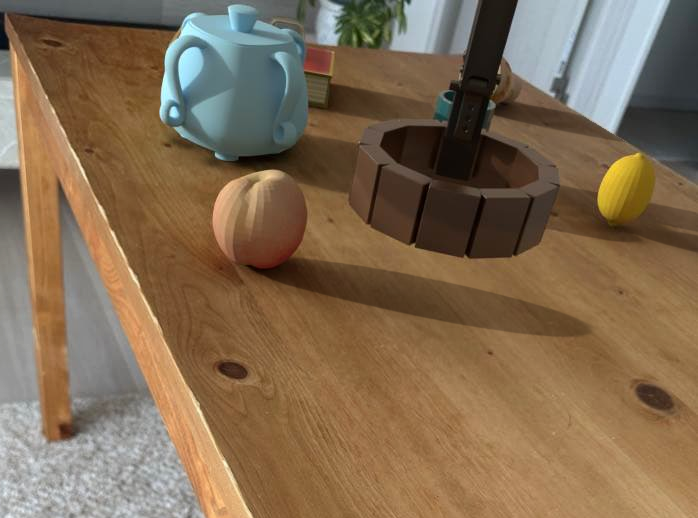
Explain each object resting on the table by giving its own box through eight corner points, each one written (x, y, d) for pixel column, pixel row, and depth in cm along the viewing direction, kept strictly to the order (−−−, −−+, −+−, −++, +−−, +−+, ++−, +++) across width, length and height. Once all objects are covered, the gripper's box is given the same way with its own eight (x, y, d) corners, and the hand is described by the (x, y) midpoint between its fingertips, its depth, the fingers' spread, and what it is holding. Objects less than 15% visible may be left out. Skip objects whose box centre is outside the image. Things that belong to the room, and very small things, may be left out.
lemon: (577, 219, 98) (605, 146, 92) (605, 212, 101) (633, 140, 95) (618, 240, 95) (649, 166, 90) (645, 232, 98) (677, 159, 93)
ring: (538, 198, 74) (556, 143, 71) (542, 275, 63) (563, 214, 60) (363, 161, 75) (373, 105, 72) (336, 231, 64) (347, 169, 61)
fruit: (232, 234, 82) (241, 147, 77) (311, 259, 81) (325, 172, 75) (195, 266, 76) (201, 174, 71) (279, 293, 75) (292, 201, 70)
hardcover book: (181, 55, 121) (183, 20, 118) (330, 82, 122) (335, 48, 119) (166, 79, 112) (167, 43, 110) (326, 108, 113) (332, 73, 111)
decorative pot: (139, 150, 94) (143, 7, 85) (180, 106, 106) (187, -24, 96) (287, 183, 93) (306, 42, 84) (311, 135, 105) (331, 7, 96)
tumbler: (475, 168, 105) (495, 97, 100) (474, 187, 101) (495, 113, 95) (423, 156, 106) (441, 85, 100) (419, 175, 101) (437, 101, 95)
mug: (530, 110, 127) (542, 50, 118) (476, 143, 126) (483, 86, 117) (498, 79, 130) (507, 19, 120) (445, 112, 129) (449, 53, 119)
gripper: (491, -205, 63) (415, 134, 79) (487, -198, 52) (400, 194, 68) (594, -186, 62) (497, 151, 78) (611, -174, 52) (495, 214, 68)
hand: (452, 171), depth 73 cm, fingers closed on ring, 2 cm apart
